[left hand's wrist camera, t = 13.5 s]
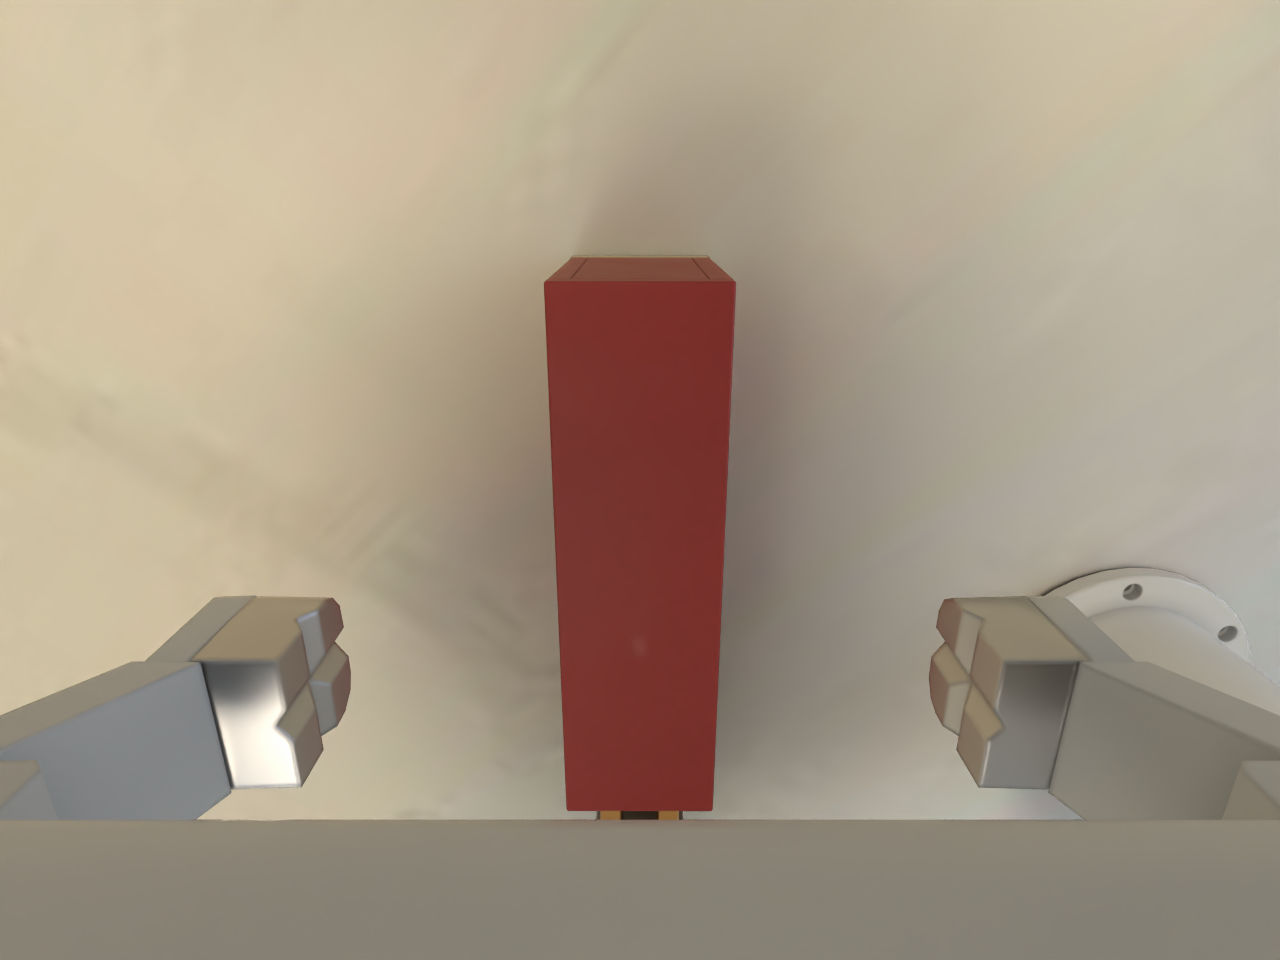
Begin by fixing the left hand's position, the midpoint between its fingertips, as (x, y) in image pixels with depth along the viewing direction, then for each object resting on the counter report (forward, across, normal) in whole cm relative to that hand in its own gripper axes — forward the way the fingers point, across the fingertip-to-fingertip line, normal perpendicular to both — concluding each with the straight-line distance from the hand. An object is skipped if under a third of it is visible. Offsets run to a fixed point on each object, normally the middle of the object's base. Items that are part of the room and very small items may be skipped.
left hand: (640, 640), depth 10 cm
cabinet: (+23, 0, -6) cm, 24 cm away
